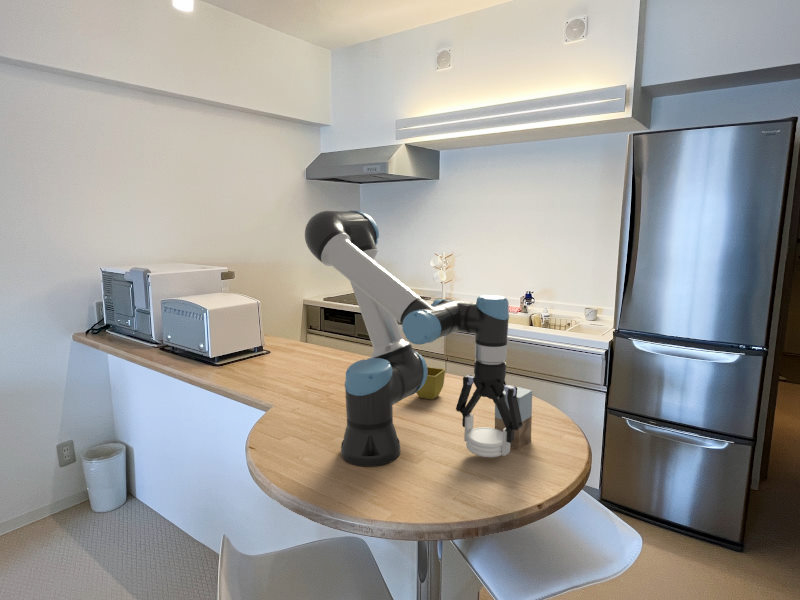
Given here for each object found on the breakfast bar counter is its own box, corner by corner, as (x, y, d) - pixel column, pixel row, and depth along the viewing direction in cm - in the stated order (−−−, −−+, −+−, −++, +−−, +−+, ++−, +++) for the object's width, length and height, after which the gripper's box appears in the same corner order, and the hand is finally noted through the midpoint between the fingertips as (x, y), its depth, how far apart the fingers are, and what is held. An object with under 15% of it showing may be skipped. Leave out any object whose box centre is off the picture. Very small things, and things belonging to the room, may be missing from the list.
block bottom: (518, 449, 124) (519, 424, 123) (494, 442, 129) (494, 417, 127) (531, 440, 129) (531, 415, 128) (507, 433, 134) (507, 409, 133)
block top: (519, 424, 123) (519, 397, 122) (494, 417, 127) (495, 391, 126) (531, 415, 128) (532, 390, 127) (507, 409, 133) (508, 384, 132)
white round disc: (479, 435, 127) (479, 422, 126) (514, 447, 121) (514, 433, 120) (458, 449, 119) (458, 436, 119) (494, 462, 113) (495, 448, 112)
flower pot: (411, 398, 161) (410, 372, 160) (422, 390, 169) (422, 365, 167) (435, 403, 157) (435, 376, 156) (445, 394, 165) (445, 369, 163)
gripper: (541, 366, 111) (535, 455, 115) (460, 348, 126) (457, 428, 130) (526, 374, 106) (521, 467, 110) (443, 354, 121) (440, 437, 124)
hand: (486, 446), depth 120 cm, fingers closed on white round disc, 10 cm apart
